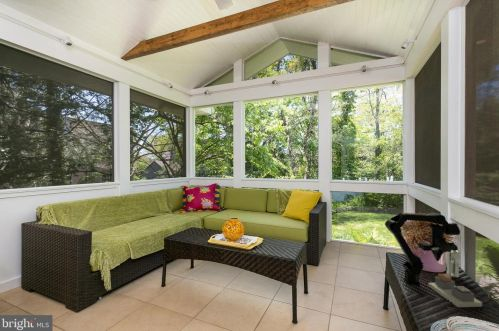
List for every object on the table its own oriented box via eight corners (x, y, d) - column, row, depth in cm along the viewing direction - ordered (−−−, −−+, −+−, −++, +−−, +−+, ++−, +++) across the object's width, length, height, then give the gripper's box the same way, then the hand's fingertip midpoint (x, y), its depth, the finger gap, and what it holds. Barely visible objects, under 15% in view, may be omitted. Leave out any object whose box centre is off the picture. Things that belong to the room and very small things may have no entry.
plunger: (462, 300, 118) (462, 290, 117) (455, 295, 122) (455, 286, 121) (470, 300, 118) (470, 290, 117) (462, 295, 122) (462, 286, 121)
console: (457, 307, 116) (457, 295, 115) (428, 286, 135) (428, 275, 134) (482, 306, 116) (482, 294, 115) (449, 285, 135) (449, 275, 134)
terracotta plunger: (444, 286, 129) (444, 277, 128) (438, 282, 133) (438, 273, 132) (451, 286, 129) (451, 277, 128) (445, 282, 133) (445, 273, 132)
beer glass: (463, 278, 142) (463, 254, 142) (449, 277, 143) (449, 253, 143) (455, 272, 149) (455, 249, 148) (442, 272, 150) (442, 249, 150)
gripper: (430, 239, 130) (430, 267, 130) (466, 239, 129) (466, 267, 129) (417, 233, 141) (417, 258, 142) (450, 232, 140) (450, 258, 140)
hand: (437, 260), depth 138 cm, fingers closed
